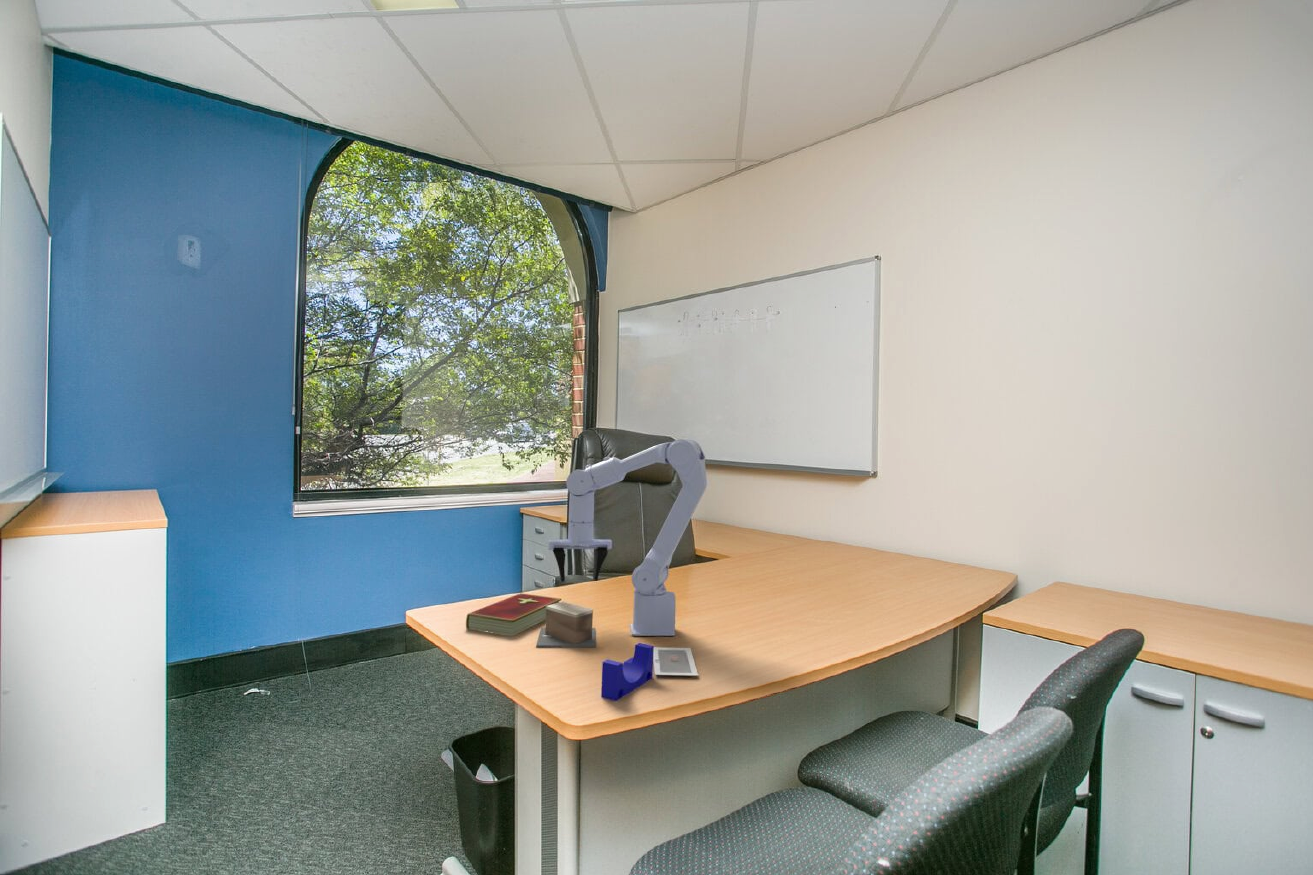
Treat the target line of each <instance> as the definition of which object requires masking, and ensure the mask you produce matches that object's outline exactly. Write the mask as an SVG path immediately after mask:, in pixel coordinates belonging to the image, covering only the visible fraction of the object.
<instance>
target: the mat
mask: <svg viewBox="0 0 1313 875" xmlns="http://www.w3.org/2000/svg"><path fill="white" fill-rule="evenodd" d="M545 630H546V627H540V629H539V633H538V637H537V641H536V645H535V648H596V646H597V645H596V628H595V627H592V638H591V639H588V640H585V641H582V642H579V643H576V644H573V643H570V642H567V641H564V640H561V639H558V638H555V637H552V636H549V635H546V634H545Z"/></svg>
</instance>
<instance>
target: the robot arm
mask: <svg viewBox="0 0 1313 875" xmlns="http://www.w3.org/2000/svg"><path fill="white" fill-rule="evenodd" d="M655 463H658V464H659V463H660V464H670V466H672V468H673V469H674V470H675V471H676V472H677V475H678V477H679V480H680V482H681V484H682V487H681V489H680V491H679V493H678V495H677V497H676V499H675V501H674V503H673V505H672V507H671V509H670V511H669V513H668V515H667V518H666V519H665V521H664V523H663V526H662V527H661V529H660V531H659V533H658V535H657V537H656V539H655V540H654V543H653V546H652V547H651V549H650V550H649V552H648V553H647V554H646V556H645V558H644V559H643V561H642V563H641V564H640V565H639V566H637V567H635V569H634V570H633V572H632V574H631V583H632V586H633V611H632V615H633V616H632V622H631V623H629V627H630V633H631V635H632V636H633V637H634V636H635V637H636V636H638V637H640V636H642V637H643V636H645V637H646V636H648V637H649V636H650V637H651V636H653V637H656V636H657V637H664V636H665V637H674V636H676V632H675V631H676V611H677V610H676V593H675V592H674V591H668V590H667V588H666V586H665V584H664V583H665V582H666V581H667V580H668V577H669V569H670V568H669V567H670V565H671V562H672V559H673V555H674V553H675V552H676V549H677V547H678V545H679V543H680V541H681V539H682V537H683V535H684V533H685V531H686V529H687V527H688V525H689V523H690V521H691V519H692V517H693V515H694V513H695V511H696V509H697V507H698V505H699V503H700V501H701V500H702V498H703V495H704V493H705V491H706V489H707V486H708V481H707V470H706V455H705V453H704V451H703V450H702V447H701V445H700V444H699V443H698V442H697V441H695V440H692V439H682V438H681V439H676V440H673V441H668V442H664V443H660V444H657V445H654V446H652V447H649V448H647V449H645V450H642V451H640V452H638V453H635V454H633V455H630V456H628V457H626V458H623V459H620V458H618V457H615V456H613V457H611V456H606V457H603V459H602V461H600V462H598V463H595V464H592V465H591V464H587V465H585V469H575V470H574V471H572V472H570V473H569V474H568V476H567V477H566V481H565V485H566V488H567V490H568V491H569V502H568V504H569V505H568V507H569V508H568V529H567V530H568V532H567V538H566V539H563V538H562V539H549V540H547V541H548V543H547V544H548V545H547V547H548V551H552V553H553V555H554V558H555V559H556V560H555V561H556V562H557V566H558V567H557V568H558V570H559V577H560V580H559V581H560V582H562V583H563V582H566V581H565V578H566V575H565V572H566V570H565V563H566V550H593V571H592V572H593V573H592V574H593V575H592V579H593V581H595V582H596V581H599V575H600V572H601V569H602V566H603V563H604V561H605V559H606V558H607V556H608V552H609V551H608V550H612V547H613V546H612V545H613V540H611V539H597V538H596V539H595V538H594V517H595V516H594V514H595V512H594V511H595V510H594V509H595V492H596V491H597V490H601V489H603V488H606V487H609V486H611V485H614V484H617V483H619V482H622V481H623V480H624V479H625V477H626V475H627V473H630V472H633V471H635V470H639V469H641V468H644V467H646V466H649V465H650V466H651V465H654V464H655Z"/></svg>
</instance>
